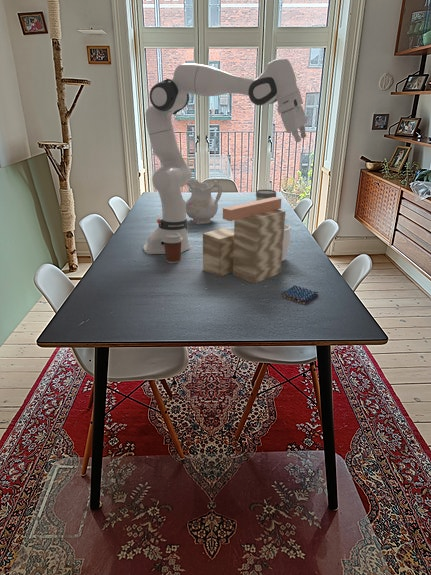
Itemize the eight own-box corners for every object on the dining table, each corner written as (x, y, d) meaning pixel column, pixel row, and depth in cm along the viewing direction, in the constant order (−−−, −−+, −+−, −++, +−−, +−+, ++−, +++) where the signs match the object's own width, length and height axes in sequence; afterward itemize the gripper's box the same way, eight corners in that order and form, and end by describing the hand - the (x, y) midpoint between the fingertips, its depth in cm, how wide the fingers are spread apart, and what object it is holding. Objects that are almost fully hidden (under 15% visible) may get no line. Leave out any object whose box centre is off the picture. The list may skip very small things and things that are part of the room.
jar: (269, 263, 177) (272, 230, 170) (261, 255, 186) (263, 224, 179) (292, 261, 179) (295, 229, 173) (282, 253, 188) (285, 222, 182)
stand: (254, 283, 158) (257, 218, 147) (233, 274, 166) (234, 212, 155) (280, 273, 167) (285, 211, 156) (259, 265, 175) (262, 205, 164)
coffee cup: (164, 265, 175) (163, 238, 170) (161, 258, 183) (160, 232, 178) (185, 263, 177) (184, 237, 172) (181, 256, 185) (180, 231, 180)
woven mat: (293, 288, 155) (294, 283, 154) (318, 296, 149) (319, 291, 148) (279, 297, 148) (279, 292, 147) (305, 306, 141) (305, 301, 141)
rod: (230, 221, 143) (230, 210, 142) (222, 219, 146) (222, 208, 144) (280, 208, 160) (281, 198, 159) (273, 206, 163) (273, 196, 161)
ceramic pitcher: (223, 220, 245) (223, 177, 237) (220, 226, 227) (220, 181, 219) (188, 219, 247) (187, 177, 239) (182, 225, 229) (181, 180, 220)
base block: (219, 276, 163) (219, 239, 157) (203, 269, 170) (202, 233, 163) (239, 269, 171) (241, 233, 164) (223, 262, 177) (224, 227, 171)
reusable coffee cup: (276, 218, 245) (277, 193, 239) (255, 218, 245) (256, 193, 239) (273, 213, 256) (275, 189, 250) (254, 213, 257) (255, 189, 250)
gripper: (289, 104, 163) (299, 138, 167) (275, 110, 147) (287, 147, 151) (304, 97, 160) (314, 132, 164) (292, 103, 143) (303, 141, 148)
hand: (301, 139), depth 158 cm, fingers open, 8 cm apart
